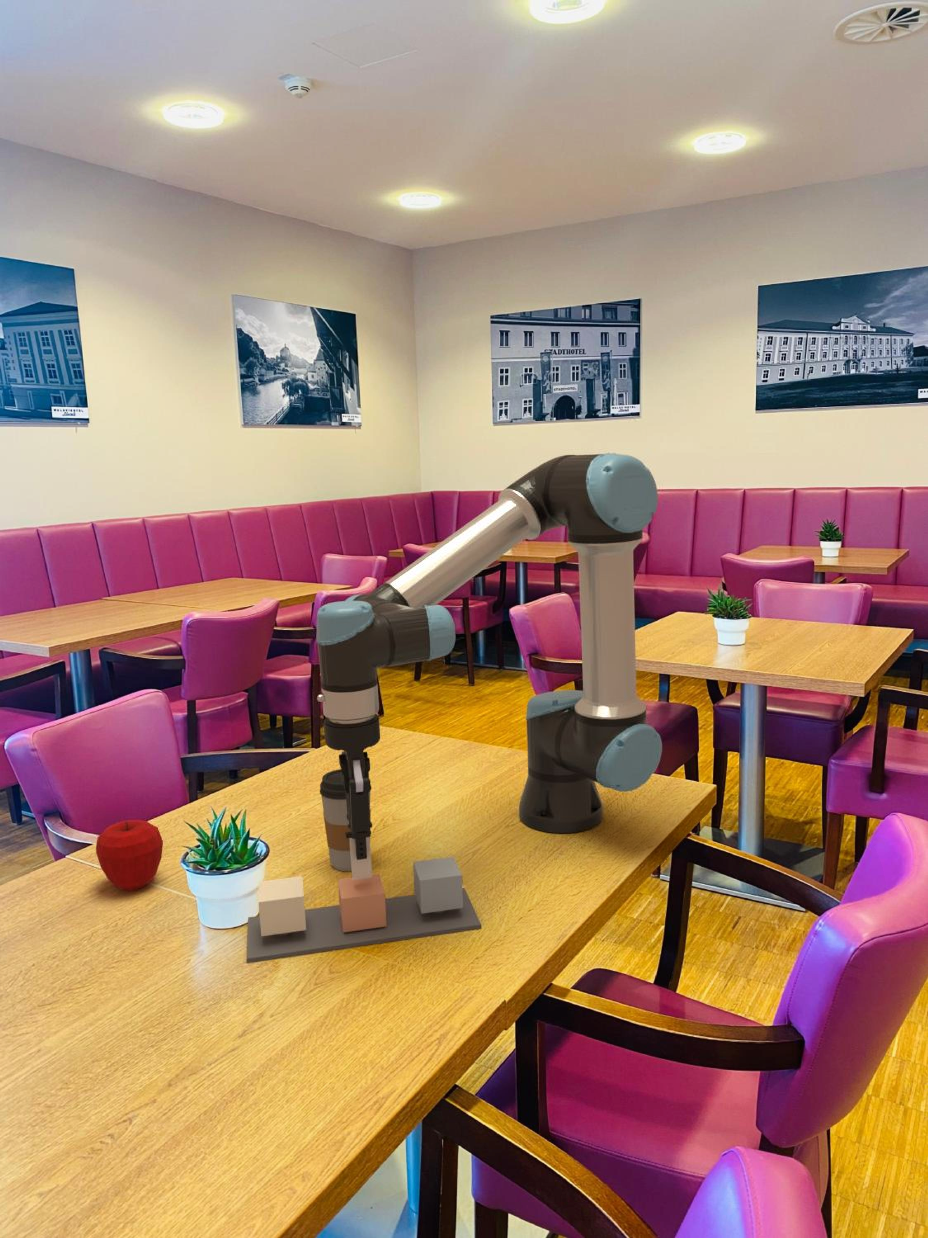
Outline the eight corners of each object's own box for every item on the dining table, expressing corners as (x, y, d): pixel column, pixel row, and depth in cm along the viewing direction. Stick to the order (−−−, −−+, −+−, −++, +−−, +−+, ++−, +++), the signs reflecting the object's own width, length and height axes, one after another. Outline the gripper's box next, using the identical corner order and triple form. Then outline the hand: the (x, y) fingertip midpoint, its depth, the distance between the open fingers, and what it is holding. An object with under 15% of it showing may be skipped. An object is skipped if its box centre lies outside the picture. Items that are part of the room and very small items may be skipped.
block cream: (304, 908, 126) (302, 876, 125) (306, 930, 120) (303, 896, 119) (261, 914, 125) (258, 881, 124) (261, 936, 119) (258, 902, 118)
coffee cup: (366, 876, 140) (361, 787, 137) (316, 873, 141) (311, 784, 139) (381, 853, 148) (377, 768, 145) (334, 850, 149) (329, 766, 147)
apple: (179, 877, 142) (173, 813, 140) (134, 905, 133) (127, 837, 131) (133, 867, 146) (126, 804, 144) (86, 893, 137) (79, 827, 135)
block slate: (454, 888, 131) (453, 856, 130) (463, 907, 125) (462, 875, 124) (414, 893, 129) (413, 862, 129) (421, 913, 124) (419, 880, 123)
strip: (464, 891, 134) (463, 879, 134) (481, 928, 123) (480, 915, 123) (248, 921, 127) (247, 908, 127) (246, 963, 117) (245, 949, 116)
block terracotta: (381, 905, 129) (379, 873, 128) (386, 926, 123) (384, 893, 122) (339, 911, 127) (337, 879, 127) (343, 932, 122) (341, 899, 121)
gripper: (320, 705, 125) (331, 859, 130) (326, 733, 113) (339, 902, 117) (373, 700, 127) (382, 852, 131) (384, 726, 114) (395, 894, 119)
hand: (362, 876), depth 124 cm, fingers closed
